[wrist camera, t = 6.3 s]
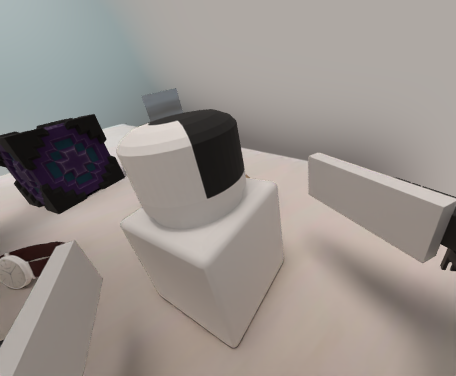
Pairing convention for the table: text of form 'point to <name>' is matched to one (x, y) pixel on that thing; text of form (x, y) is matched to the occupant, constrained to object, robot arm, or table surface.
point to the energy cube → (59, 162)
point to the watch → (24, 264)
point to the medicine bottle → (202, 219)
